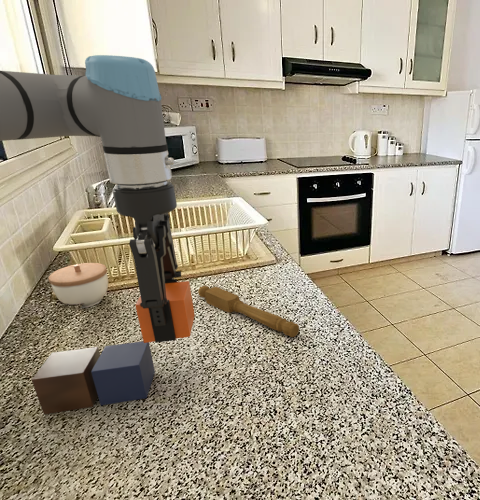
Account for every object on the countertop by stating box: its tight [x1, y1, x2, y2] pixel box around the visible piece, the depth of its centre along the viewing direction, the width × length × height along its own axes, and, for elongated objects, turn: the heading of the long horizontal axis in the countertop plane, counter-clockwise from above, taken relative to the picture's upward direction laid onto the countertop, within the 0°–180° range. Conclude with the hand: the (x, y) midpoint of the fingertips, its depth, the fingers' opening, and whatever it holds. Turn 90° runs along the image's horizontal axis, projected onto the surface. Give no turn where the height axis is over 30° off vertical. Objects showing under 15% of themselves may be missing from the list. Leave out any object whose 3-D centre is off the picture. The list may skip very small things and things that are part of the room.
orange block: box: [134, 280, 196, 343], centre depth 58 cm, size 6×6×6 cm
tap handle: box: [197, 285, 300, 338], centre depth 83 cm, size 3×3×30 cm
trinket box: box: [48, 262, 109, 309], centre depth 85 cm, size 11×11×9 cm
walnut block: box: [31, 346, 101, 415], centre depth 58 cm, size 6×6×6 cm
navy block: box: [91, 340, 156, 406], centre depth 60 cm, size 6×6×6 cm
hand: (169, 327), depth 59 cm, fingers closed on orange block, 6 cm apart
